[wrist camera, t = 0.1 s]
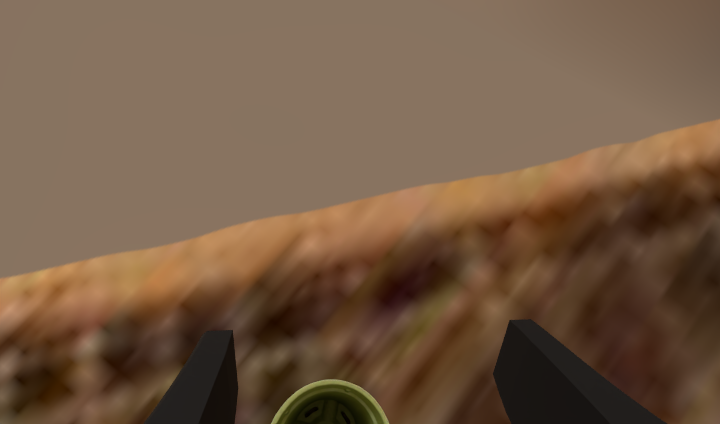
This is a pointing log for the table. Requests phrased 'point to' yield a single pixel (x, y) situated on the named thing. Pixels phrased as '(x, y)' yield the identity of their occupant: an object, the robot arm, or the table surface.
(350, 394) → the plant pot
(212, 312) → the table surface
